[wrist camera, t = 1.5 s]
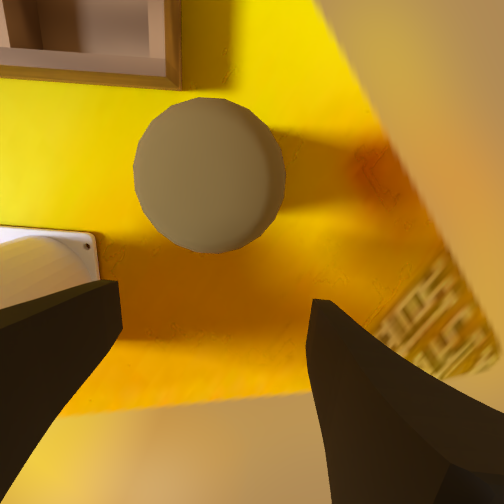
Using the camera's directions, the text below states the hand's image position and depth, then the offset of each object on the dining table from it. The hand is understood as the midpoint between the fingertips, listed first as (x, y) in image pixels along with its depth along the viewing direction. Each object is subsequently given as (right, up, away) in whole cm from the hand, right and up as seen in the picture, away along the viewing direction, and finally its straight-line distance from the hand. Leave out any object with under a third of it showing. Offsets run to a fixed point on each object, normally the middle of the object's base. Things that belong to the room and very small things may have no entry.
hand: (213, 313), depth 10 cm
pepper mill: (0, +8, +9) cm, 12 cm away
